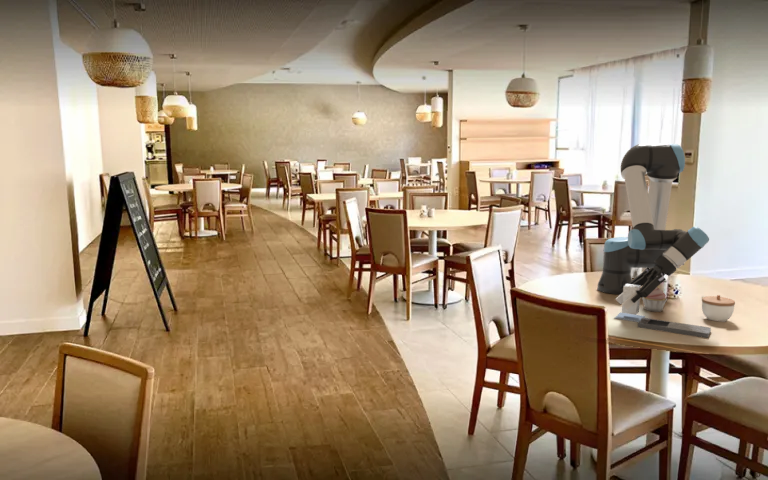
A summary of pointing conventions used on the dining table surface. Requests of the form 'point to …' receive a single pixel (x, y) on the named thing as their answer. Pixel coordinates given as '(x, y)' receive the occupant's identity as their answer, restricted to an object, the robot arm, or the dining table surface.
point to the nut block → (627, 292)
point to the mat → (629, 317)
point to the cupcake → (655, 300)
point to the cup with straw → (635, 272)
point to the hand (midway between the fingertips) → (621, 304)
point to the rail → (674, 327)
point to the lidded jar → (717, 308)
